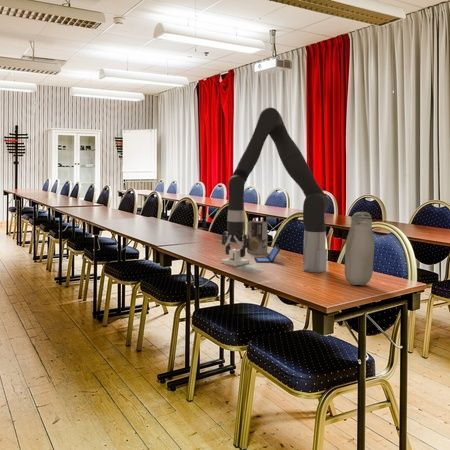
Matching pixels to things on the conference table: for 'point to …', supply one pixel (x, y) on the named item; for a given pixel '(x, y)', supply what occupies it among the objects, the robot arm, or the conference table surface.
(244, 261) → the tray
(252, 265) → the coaster sage
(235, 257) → the letter cube
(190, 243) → the conference table surface
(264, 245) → the coffee box
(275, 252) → the handheld game console
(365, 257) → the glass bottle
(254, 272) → the coaster grey
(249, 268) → the coaster teal
